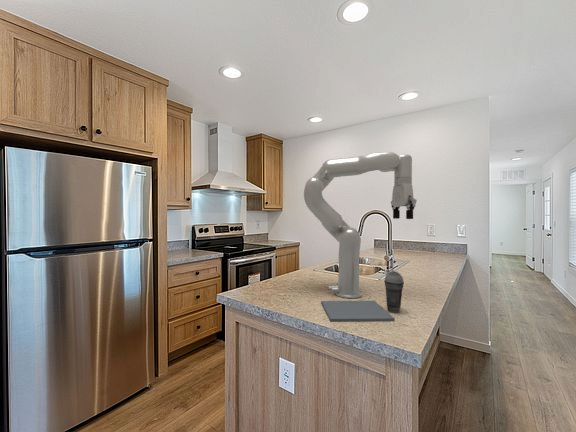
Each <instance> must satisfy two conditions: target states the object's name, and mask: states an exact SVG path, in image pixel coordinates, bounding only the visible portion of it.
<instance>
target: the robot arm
mask: <svg viewBox="0 0 576 432" xmlns="http://www.w3.org/2000/svg"><path fill="white" fill-rule="evenodd" d="M412 157H413V156H412V155H411V154H399V155H398V154H397V153H395V152H394V151H393V152H392V151H388V152H387V151H386V152H385V151H383V152H377V153H370V154H365V155H358V156H350V157H341V158H339V157H338V158H332V159H331V158H330V159H327V160H325V161H324V162H323V164H322V165H321V167H320V168H319V169H318V171H316V173H315V174H314V175H313V176H312V177H310V178H309V179H307V181H306V183H305V185H304V190H303V198H304V202H305V205H306V207H307V208H308V210H309V211H310V212H311V214H313V215H314V217H316V219H317V220H318V221H320V223H321V225H322V226H323V228H324V229H325V230H326V231H327V232H328V233H329V235H331V236H332V237H333V238H334V239H335V240H336V241H337V242H338V243H339V246H338V277H337V278H338V282H337V283H336V284H335V285H328V286H327V289H328V290H329V291H332V292H333V291H334V294H335V295H336V296H337V297H340V298H343V299H345V298H346V299H359V298H362V296H363V291H360V250H361V243H362V241H361V235H360V232H359V231H358V230H357V229H356V228H354V227H351V226H350V225H349V224H348V223H347V222H346V221H345V220H344V219H343V216H342V215H341V214H340V213H339V212H338V211H336V209H334V208H333V207H332V206H331V205H330V204H329V203H328V201H327V200H326V199H325V198H324V196H323V191H324V190H325V189H326V188H327V187H328V185H330V183H331V182H332V181H333V180H334V179H335V178H342V177H350V176H351V177H352V176H353V177H354V176H359V175H362V174H365V173H369V172H374V171H379V172H382V173H388V172H393V174H394V179H393V180H394V183H393V184H394V185H393V187H392V194H391V201H390V204H391V209H392V218H393V219H395V220H397V219H400V218H401V217H400V216H401V215H400V213H401V212H400V208H401V207H405V208H406V212H405V219H407V220H413V219H414V210H415V207H416V203H417V199H416V198H414V189H413V184H412V183H413V179H412V178H413V177H412V176H413V175H412V174H413V158H412Z"/></svg>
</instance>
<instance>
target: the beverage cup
mask: <svg viewBox="0 0 576 432" xmlns="http://www.w3.org/2000/svg"><path fill="white" fill-rule="evenodd" d="M383 282H384V288H385V295H386V307H387V312H388V313H390V314H400V312H401V304H402V296H403V288H404V278H403V276H402V274H401V273H400V272H398V271H395V270H394V261H393V259H391V271H389V272H387V274H386V275H385V277H384V281H383Z"/></svg>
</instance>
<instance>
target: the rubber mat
mask: <svg viewBox="0 0 576 432" xmlns="http://www.w3.org/2000/svg"><path fill="white" fill-rule="evenodd" d="M320 304H321V306H322V307H323V310H324V311H325V314H326V316H327V317H328V319H329V322H330V323H331V322H332V323H333V322H335V323H337V322H338V323H339V322H341V323H342V322H343V323H344V322H348V323H349V322H354V323H355V322H361V323H362V322H396V321H395V317H394V316H393V315H391V313H390V312H388V310H386V309H385V308H384V307H382V305H381V304H379V303H378V302H377V301H376V300H320Z"/></svg>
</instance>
